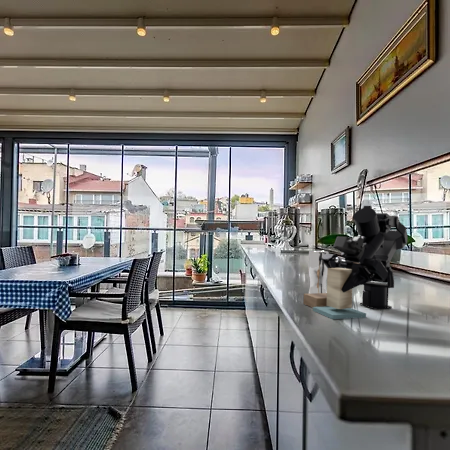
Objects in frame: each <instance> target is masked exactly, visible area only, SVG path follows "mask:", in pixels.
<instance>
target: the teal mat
mask: <svg viewBox="0 0 450 450" xmlns="http://www.w3.org/2000/svg"><path fill="white" fill-rule="evenodd" d="M312 311H313V312H316V313H318V314H320V315H322V316H325V317H327V318H328V319H331V320H339V319H340V320H343V319H359V318H360V319H361V318H367V313H365V312H363V311H360V310H357V309H354V308H353V307H352V308H346V309H337V308H333V307H330V306H326V307H313V308H312Z"/></svg>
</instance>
